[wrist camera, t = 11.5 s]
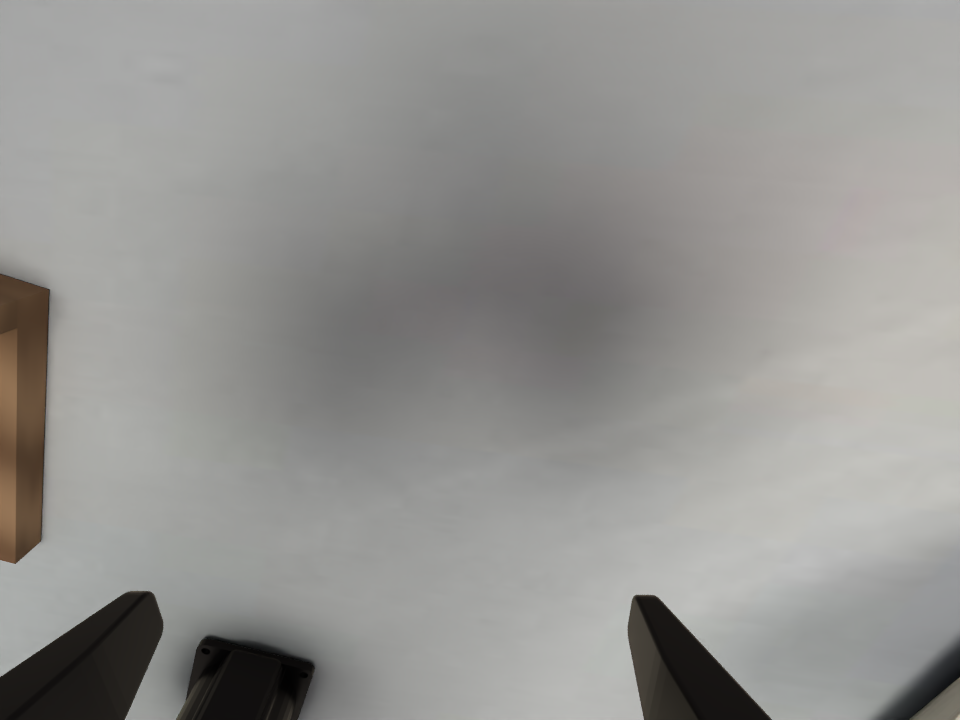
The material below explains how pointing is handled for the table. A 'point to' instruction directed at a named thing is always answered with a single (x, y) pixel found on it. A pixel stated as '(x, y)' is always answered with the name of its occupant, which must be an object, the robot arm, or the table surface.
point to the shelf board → (21, 414)
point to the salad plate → (942, 705)
